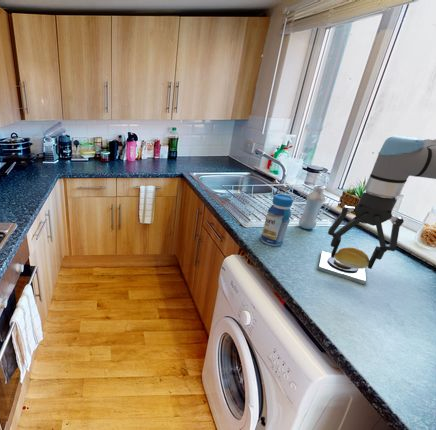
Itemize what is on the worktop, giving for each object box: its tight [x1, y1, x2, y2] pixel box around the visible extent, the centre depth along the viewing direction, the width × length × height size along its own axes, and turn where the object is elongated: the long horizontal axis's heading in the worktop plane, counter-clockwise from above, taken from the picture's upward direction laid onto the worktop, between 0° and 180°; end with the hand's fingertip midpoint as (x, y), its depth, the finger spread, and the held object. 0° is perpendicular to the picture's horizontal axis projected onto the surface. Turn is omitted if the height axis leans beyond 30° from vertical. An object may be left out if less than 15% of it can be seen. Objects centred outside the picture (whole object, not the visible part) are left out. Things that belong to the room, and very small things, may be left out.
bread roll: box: [334, 247, 370, 269], centre depth 89 cm, size 8×9×4 cm
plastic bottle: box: [298, 184, 326, 230], centre depth 127 cm, size 6×7×20 cm
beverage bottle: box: [260, 193, 294, 247], centre depth 115 cm, size 8×8×20 cm
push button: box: [317, 250, 367, 285], centre depth 102 cm, size 13×13×3 cm
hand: (350, 260), depth 90 cm, fingers closed on bread roll, 9 cm apart
